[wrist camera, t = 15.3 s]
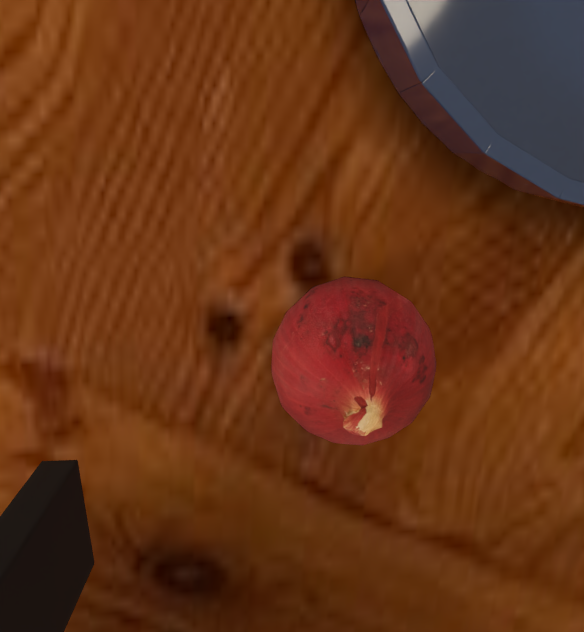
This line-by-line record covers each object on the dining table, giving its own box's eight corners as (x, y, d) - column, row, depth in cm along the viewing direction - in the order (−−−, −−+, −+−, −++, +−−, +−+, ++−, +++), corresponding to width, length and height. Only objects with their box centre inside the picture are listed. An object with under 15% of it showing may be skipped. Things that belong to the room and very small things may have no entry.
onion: (280, 252, 22) (276, 312, 14) (419, 265, 22) (491, 330, 14) (269, 383, 23) (259, 498, 16) (398, 393, 24) (451, 512, 16)
